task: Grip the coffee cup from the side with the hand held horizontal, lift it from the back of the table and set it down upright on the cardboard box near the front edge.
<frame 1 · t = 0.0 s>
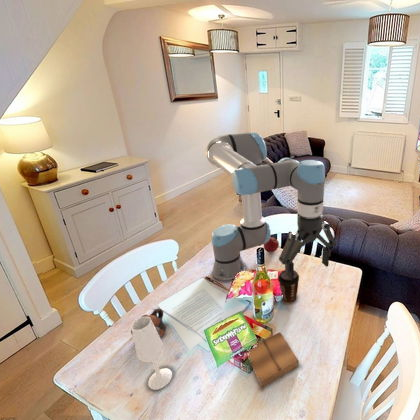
hand: (308, 271, 89), 28 cm above the table, tool pointing down, fingers open, 13 cm apart
coffee cup: (289, 298, 116), on the table
apple: (271, 251, 147), on the table
cardboard box: (271, 360, 90), on the table
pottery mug: (153, 331, 100), on the table
champagne flute: (160, 379, 84), on the table
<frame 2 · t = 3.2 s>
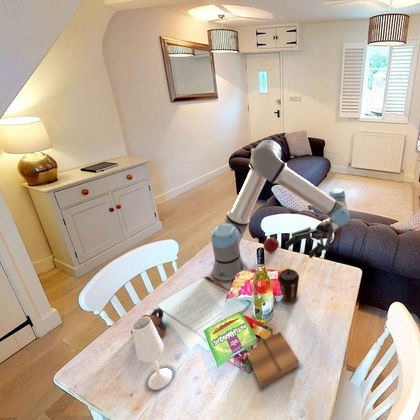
hand: (297, 250, 113), 20 cm above the table, tool horizontal, fingers open, 13 cm apart
nothing on the table moved.
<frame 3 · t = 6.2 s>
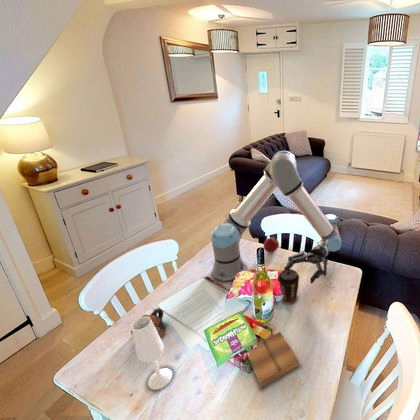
hand: (297, 275, 118), 8 cm above the table, tool horizontal, fingers open, 13 cm apart
nothing on the table moved.
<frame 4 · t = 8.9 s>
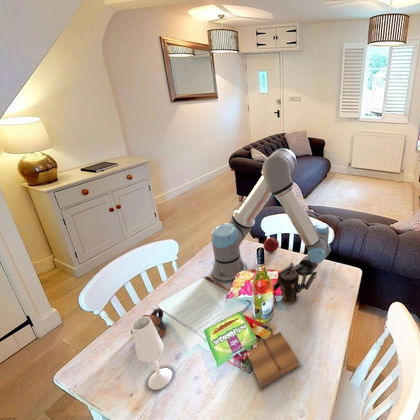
hand: (282, 292, 109), 7 cm above the table, tool horizontal, fingers closed on coffee cup, 7 cm apart
coffee cup: (289, 298, 116), on the table, touching gripper
everything else where it was.
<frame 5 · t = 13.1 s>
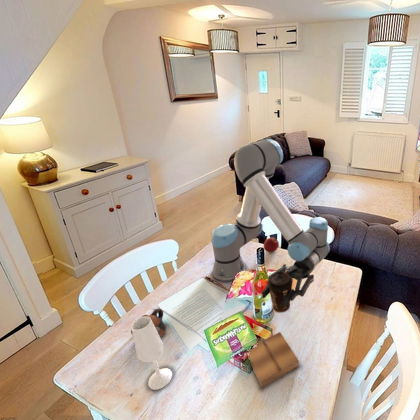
hand: (272, 299, 91), 18 cm above the table, tool horizontal, fingers closed on coffee cup, 7 cm apart
coffee cup: (281, 306, 98), point 11 cm above the table, touching gripper
everything else where it was.
when the fingers open (10 cm above the table, at t = 17.4 s): coffee cup stays where it is, resting on cardboard box.
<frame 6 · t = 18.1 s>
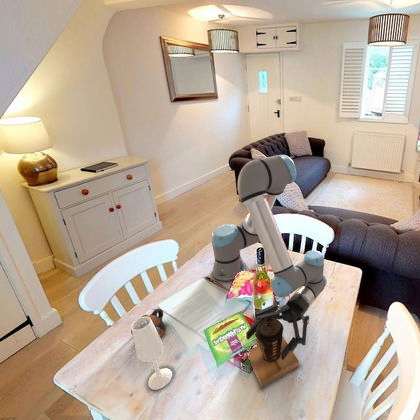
hand: (264, 346, 83), 11 cm above the table, tool horizontal, fingers open, 13 cm apart
coffee cup: (271, 354, 89), point 3 cm above the table, touching cardboard box
everything else where it was.
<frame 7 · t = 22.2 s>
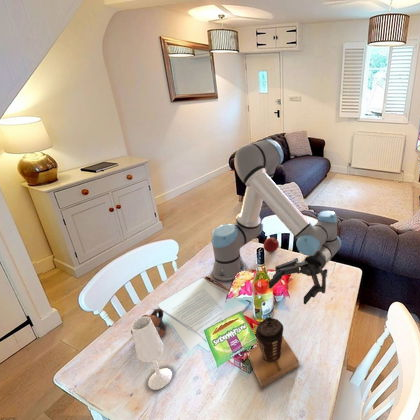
hand: (286, 292, 87), 22 cm above the table, tool horizontal, fingers open, 13 cm apart
nothing on the table moved.
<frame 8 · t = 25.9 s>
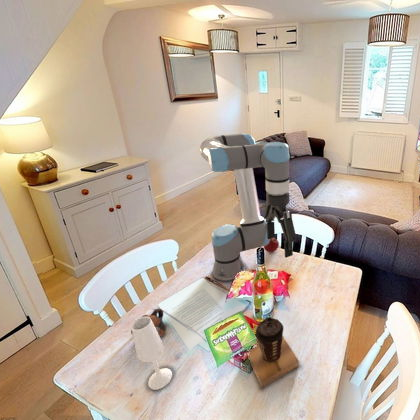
hand: (279, 246, 97), 31 cm above the table, tool pointing down, fingers open, 13 cm apart
nothing on the table moved.
at the end: coffee cup inside the target area on the cardboard box (0.0 cm from its centre), point 3.0 cm above the cardboard box's base; coffee cup tilted 0°; the gripper is holding nothing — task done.
